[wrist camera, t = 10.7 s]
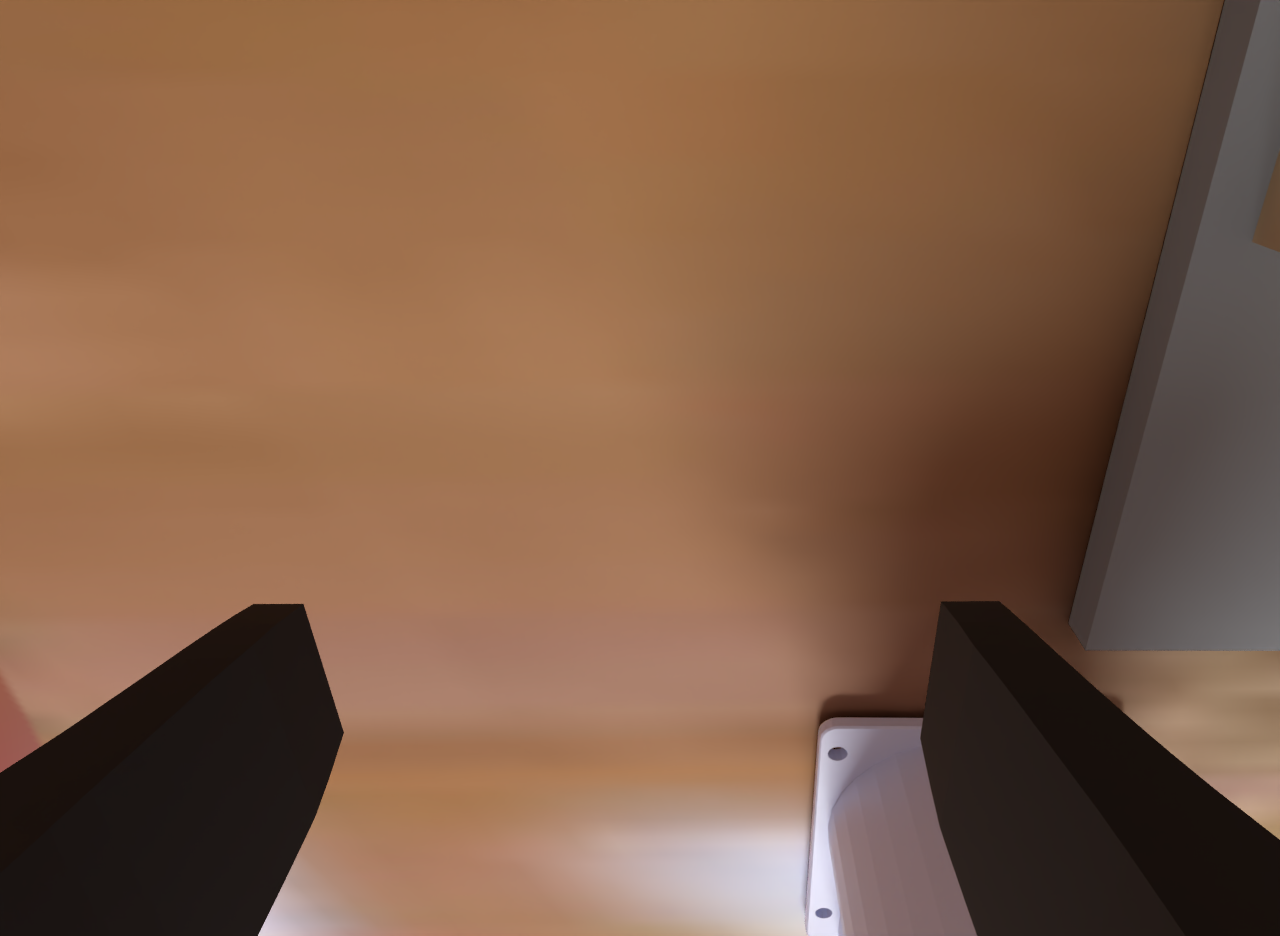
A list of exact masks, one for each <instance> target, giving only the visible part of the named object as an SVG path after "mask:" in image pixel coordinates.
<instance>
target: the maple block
mask: <svg viewBox="0 0 1280 936" xmlns="http://www.w3.org/2000/svg"><path fill="white" fill-rule="evenodd" d="M1252 242H1253V243H1256V244H1259V245H1261V246H1264V247H1267V248H1269V249H1272V250H1275V251H1277V252H1280V150H1279V153H1278V157H1277V160H1276V163H1275V167H1274V170H1273V173H1272V177H1271V180H1270V183H1269V187H1268V190H1267V193H1266V197H1265V200H1264V203H1263V207H1262V210H1261V213H1260V216H1259V220H1258V223H1257V226H1256V230H1255V233H1254V236H1253V240H1252Z"/></svg>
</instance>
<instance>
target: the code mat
mask: <svg viewBox="0 0 1280 936" xmlns="http://www.w3.org/2000/svg"><path fill="white" fill-rule="evenodd" d="M1279 150H1280V0H1225V2H1224V6H1223V10H1222V14H1221V18H1220V22H1219V26H1218V30H1217V34H1216V38H1215V42H1214V46H1213V50H1212V54H1211V58H1210V62H1209V66H1208V70H1207V74H1206V78H1205V82H1204V86H1203V90H1202V94H1201V98H1200V102H1199V106H1198V110H1197V114H1196V118H1195V122H1194V126H1193V130H1192V134H1191V137H1190V141H1189V145H1188V149H1187V153H1186V157H1185V161H1184V165H1183V169H1182V173H1181V177H1180V181H1179V185H1178V189H1177V193H1176V197H1175V201H1174V205H1173V209H1172V213H1171V217H1170V221H1169V225H1168V229H1167V233H1166V237H1165V241H1164V245H1163V249H1162V253H1161V257H1160V261H1159V265H1158V269H1157V273H1156V277H1155V281H1154V285H1153V289H1152V293H1151V297H1150V301H1149V305H1148V308H1147V312H1146V316H1145V320H1144V324H1143V328H1142V332H1141V336H1140V340H1139V344H1138V348H1137V352H1136V356H1135V360H1134V364H1133V368H1132V372H1131V376H1130V380H1129V384H1128V388H1127V392H1126V396H1125V400H1124V404H1123V408H1122V412H1121V416H1120V420H1119V424H1118V428H1117V432H1116V436H1115V440H1114V444H1113V448H1112V452H1111V456H1110V460H1109V464H1108V468H1107V472H1106V476H1105V480H1104V483H1103V487H1102V491H1101V495H1100V499H1099V503H1098V507H1097V511H1096V515H1095V519H1094V523H1093V527H1092V531H1091V535H1090V539H1089V543H1088V547H1087V551H1086V555H1085V559H1084V563H1083V567H1082V571H1081V575H1080V579H1079V583H1078V587H1077V591H1076V595H1075V599H1074V603H1073V607H1072V611H1071V615H1070V619H1069V623H1068V624H1069V625H1070V627H1071V628H1072V630H1073V632H1074V633H1075V635H1076V636H1077V638H1078V639H1079V641H1080V643H1081V644H1082V646H1083V647H1084V649H1085V650H1210V651H1280V252H1277V251H1275V250H1272V249H1269V248H1267V247H1264V246H1261V245H1259V244H1256V243H1253V242H1252V240H1253V236H1254V233H1255V230H1256V226H1257V223H1258V220H1259V216H1260V213H1261V210H1262V207H1263V203H1264V200H1265V197H1266V193H1267V190H1268V187H1269V183H1270V180H1271V177H1272V173H1273V170H1274V167H1275V163H1276V160H1277V157H1278V153H1279Z"/></svg>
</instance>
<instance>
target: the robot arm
mask: <svg viewBox="0 0 1280 936" xmlns="http://www.w3.org/2000/svg"><path fill="white" fill-rule="evenodd" d="M343 733H344V732H343V729H342V725H341V722H340V719H339V716H338V713H337V709H336V706H335V703H334V700H333V697H332V694H331V690H330V687H329V684H328V681H327V678H326V674H325V671H324V668H323V665H322V662H321V659H320V655H319V652H318V649H317V646H316V643H315V640H314V636H313V633H312V630H311V627H310V624H309V620H308V617H307V614H306V611H305V608H304V605H303V604H253V605H251V606H250V607H248V608H246V609H244V610H243V611H241V612H239V613H238V614H236V615H234V616H233V617H231V618H230V619H228V620H227V621H225V622H223V623H222V624H220V625H219V626H217V627H216V628H214V629H213V630H211V631H210V632H208V633H207V634H205V635H204V636H202V637H201V638H199V639H198V640H196V641H195V642H193V643H192V644H191V645H189V646H188V647H186V648H185V649H183V650H182V651H180V652H179V653H177V654H176V655H175V656H173V657H172V658H170V659H169V660H167V661H166V662H164V663H163V664H162V665H160V666H159V667H157V668H156V669H154V670H153V671H151V672H150V673H149V674H147V675H146V676H144V677H143V678H141V679H140V680H138V681H137V682H136V683H134V684H133V685H131V686H130V687H128V688H127V689H125V690H124V691H122V692H121V693H120V694H118V695H117V696H115V697H114V698H112V699H111V700H109V701H108V702H106V703H105V704H104V705H102V706H101V707H99V708H98V709H96V710H95V711H93V712H92V713H90V714H89V715H88V716H86V717H85V718H83V719H82V720H80V721H79V722H77V723H76V724H74V725H73V726H71V727H70V728H69V729H67V730H66V731H64V732H63V733H61V734H60V735H58V736H56V737H55V738H53V739H52V740H50V741H49V742H47V743H46V744H44V745H43V746H41V747H39V748H38V749H36V750H35V751H33V752H32V753H30V754H29V755H27V756H26V757H24V758H23V759H21V760H19V761H18V762H16V763H15V764H13V765H12V766H10V767H9V768H7V769H5V770H4V771H2V772H1V773H0V936H258V934H259V932H260V930H261V928H262V926H263V924H264V922H265V920H266V918H267V916H268V914H269V912H270V910H271V908H272V906H273V904H274V902H275V899H276V897H277V895H278V893H279V891H280V889H281V887H282V885H283V883H284V881H285V879H286V877H287V875H288V873H289V871H290V869H291V867H292V865H293V862H294V860H295V858H296V856H297V854H298V852H299V850H300V848H301V846H302V844H303V842H304V840H305V837H306V835H307V833H308V831H309V829H310V827H311V825H312V822H313V820H314V818H315V816H316V813H317V810H318V808H319V805H320V802H321V799H322V797H323V794H324V791H325V788H326V785H327V783H328V780H329V777H330V774H331V771H332V768H333V765H334V761H335V758H336V755H337V752H338V749H339V746H340V743H341V740H342V737H343ZM835 747H842V748H840V749H832V748H835ZM805 927H806V933H807V935H808V936H1280V840H1279V839H1278V838H1277V837H1275V836H1274V835H1273V834H1271V833H1270V832H1269V831H1268V830H1266V829H1265V828H1264V827H1263V826H1261V825H1260V824H1259V823H1257V822H1256V821H1255V820H1254V819H1252V818H1251V817H1250V816H1248V815H1247V814H1246V813H1245V812H1243V811H1242V810H1241V809H1240V808H1238V807H1237V806H1236V805H1234V804H1233V803H1232V802H1231V801H1229V800H1228V799H1227V798H1225V797H1224V796H1223V795H1222V794H1220V793H1219V792H1218V791H1217V790H1215V789H1214V788H1213V787H1211V786H1210V785H1209V784H1208V783H1207V782H1205V781H1204V780H1203V779H1202V778H1200V777H1199V776H1198V775H1197V774H1196V773H1194V772H1193V771H1192V770H1191V769H1190V768H1188V767H1187V766H1186V765H1185V764H1183V763H1182V762H1181V761H1180V760H1179V759H1177V758H1176V757H1175V756H1174V755H1173V754H1171V753H1170V752H1169V751H1168V750H1167V749H1165V748H1164V747H1163V746H1162V745H1161V744H1159V743H1158V742H1157V741H1156V740H1155V739H1154V738H1152V737H1151V736H1150V735H1149V734H1148V733H1147V732H1145V731H1144V730H1143V729H1142V728H1141V727H1140V726H1138V725H1137V724H1136V723H1135V722H1134V721H1133V720H1131V719H1130V718H1129V717H1128V716H1127V715H1126V714H1125V713H1123V712H1122V711H1121V710H1120V709H1119V708H1118V707H1117V706H1115V705H1114V704H1113V703H1112V702H1111V701H1110V700H1109V699H1107V698H1106V697H1105V696H1104V695H1103V694H1102V693H1101V692H1100V691H1098V690H1097V689H1096V688H1095V687H1094V686H1093V685H1092V684H1091V683H1089V682H1088V681H1087V680H1086V679H1085V678H1084V677H1083V676H1082V675H1081V674H1079V673H1078V672H1077V671H1076V670H1075V669H1074V668H1073V667H1072V666H1071V665H1069V664H1068V663H1067V662H1066V661H1065V660H1064V659H1063V658H1062V657H1061V656H1060V655H1058V654H1057V653H1056V652H1055V651H1054V650H1053V649H1052V648H1051V647H1050V646H1049V645H1047V644H1046V643H1045V642H1044V641H1043V640H1042V639H1041V638H1040V637H1039V636H1038V635H1037V634H1035V633H1034V632H1033V631H1032V630H1031V629H1030V628H1029V627H1028V626H1027V625H1026V624H1024V623H1023V622H1022V621H1021V620H1020V619H1019V618H1018V617H1017V616H1015V615H1014V614H1013V613H1012V612H1011V611H1010V610H1009V609H1007V608H1006V607H1005V606H1004V605H1003V604H1002V603H1001V602H999V601H968V602H941V606H940V612H939V619H938V625H937V632H936V638H935V645H934V651H933V658H932V664H931V671H930V677H929V684H928V690H927V697H926V703H925V710H924V716H923V718H859V717H836V718H830V719H828V720H826V721H824V722H823V723H822V724H821V725H820V727H819V730H818V742H817V756H816V770H815V784H814V798H813V813H812V827H811V841H810V855H809V869H808V883H807V898H806V912H805Z"/></svg>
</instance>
